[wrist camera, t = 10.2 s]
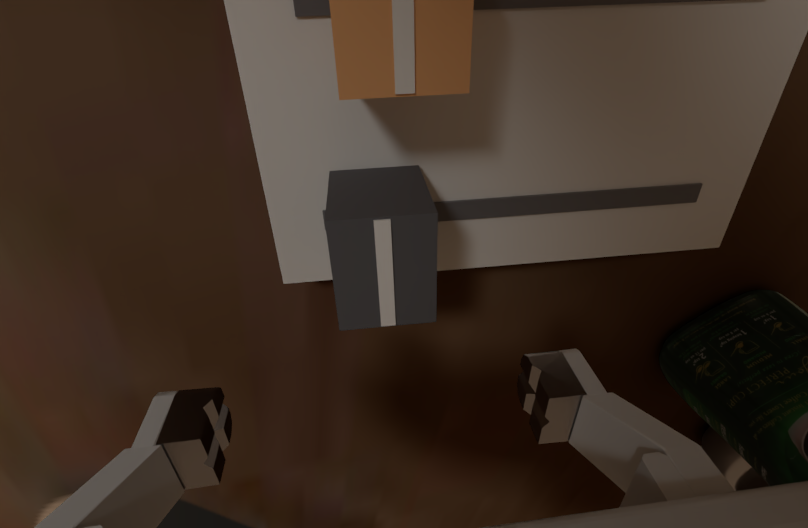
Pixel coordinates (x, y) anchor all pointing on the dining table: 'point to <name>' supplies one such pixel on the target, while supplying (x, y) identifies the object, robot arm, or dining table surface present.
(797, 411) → the coffee jar
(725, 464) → the plastic bottle
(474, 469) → the dining table surface
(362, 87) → the fader
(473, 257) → the console
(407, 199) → the fader
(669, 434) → the robot arm
